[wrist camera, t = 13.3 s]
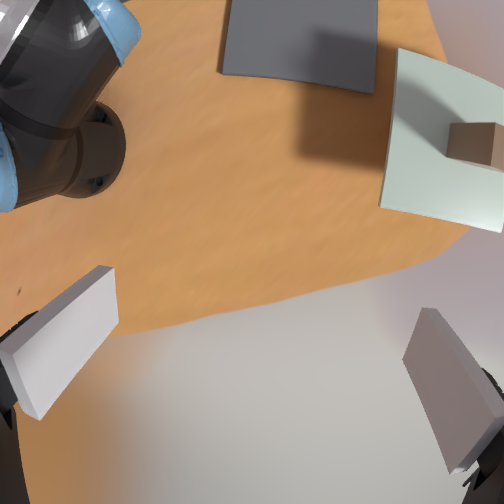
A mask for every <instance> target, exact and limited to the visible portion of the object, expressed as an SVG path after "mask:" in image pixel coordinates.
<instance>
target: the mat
mask: <svg viewBox="0 0 504 504" xmlns="http://www.w3.org/2000/svg"><path fill="white" fill-rule="evenodd" d="M377 27H378V0H232V6H231V12H230V19H229V26H228V33H227V40H226V47H225V55H224V63H223V71H222V74H223V75H232V76H249V77H261V78H272V79H282V80H290V81H298V82H305V83H312V84H319V85H325V86H331V87H337V88H342V89H347V90H352V91H357V92H362V93H367V94H371V95H372V94H374V85H375V71H376V54H377Z"/></svg>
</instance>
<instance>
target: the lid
mask: <svg viewBox="0 0 504 504" xmlns="http://www.w3.org/2000/svg"><path fill="white" fill-rule="evenodd" d="M378 206H379V207H382V208H387V209H393V210H398V211H403V212H409V213H414V214H419V215H424V216H429V217H433V218H438V219H443V220H447V221H452V222H456V223H461V224H465V225H470V226H474V227H478V228H483V229H487V230H491V231H495V232H499V233H501V230H502V227H503V223H504V89H503V88H501V87H499V86H496V85H495V84H492V83H490V82H488V81H486V80H484V79H482V78H480V77H477V76H475V75H473V74H471V73H468V72H466V71H464V70H461V69H459V68H456V67H453V66H451V65H449V64H446V63H443V62H441V61H438V60H435V59H432V58H429V57H427V56H424V55H421V54H418V53H414V52H411V51H408V50H405V49H401V48H397V49H396V65H395V80H394V93H393V104H392V114H391V123H390V132H389V140H388V147H387V154H386V161H385V168H384V174H383V180H382V186H381V192H380V198H379V203H378Z"/></svg>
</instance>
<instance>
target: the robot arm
mask: <svg viewBox="0 0 504 504" xmlns="http://www.w3.org/2000/svg"><path fill="white" fill-rule="evenodd" d="M140 36H141V27H140V24H139V22H138V21H137V19H136V18H135V17H134V15H133V14H132V13H131V12H130V11H129V10H128V9H127V8H126V7H125V6H124V5H123V4H122V3H121V2H120V1H119V0H0V213H1V212H10V211H11V210H13V209H16V208H18V207H21V206H24V205H27V204H29V203H32V202H35V201H38V200H41V199H44V198H47V197H50V196H53V195H56V194H58V195H62V196H66V197H71V198H87V197H90V196H93V195H96V194H99V193H101V192H103V191H104V190H105V189H107V188H108V187H109V186H110V185H111V184H112V183H113V182H114V180H115V179H116V177H117V176H118V174H119V172H120V170H121V168H122V165H123V161H124V157H125V150H126V140H125V133H124V129H123V126H122V124H121V121H120V120H119V118H118V116H117V115H116V114H115V112H114V111H113V110H112V109H111V108H109V107H108V106H106V105H104V104H102V103H99V102H95V101H96V99H97V98H98V96H99V95H100V93H101V92H102V90H103V89H104V87H105V86H106V85H107V83H108V82H109V80H110V79H111V78H112V76H113V75H114V74H115V72H116V71H117V70H118V68H119V67H122V66H123V64H124V60H125V58H126V57H127V56H128V54H129V53H130V52H131V50H132V49H133V48H134V46H135V45H136V44H137V42H138V41H139V39H140ZM118 323H119V320H118V311H117V301H116V289H115V276H114V268H113V267H107V266H102V265H99V266H97V267H96V268H94V269H93V270H92V271H90V272H89V273H88V274H86V275H85V276H84V277H82V278H81V279H80V280H78V281H77V282H76V283H74V284H73V285H72V286H70V287H69V288H68V289H66V290H65V291H64V292H63V293H61V294H60V295H59V296H57V297H56V298H55V299H54V300H52V301H51V302H50V303H48V304H47V305H46V306H45V307H43V308H42V309H41V310H40V311H36V312H34V313H31V314H29V315H27V316H25V317H24V318H23V319H22V320H20V321H19V322H18V324H16V325H14V326H13V327H12V328H11V330H8V331H7V332H6V333H5V334H3V335H2V336H1V337H0V504H30V502H29V498H28V493H27V489H26V484H25V479H24V474H23V468H22V462H21V455H20V448H19V440H18V432H17V421H16V412H15V409H14V407H13V405H14V404H15V403H16V402H17V401H18V402H19V404H20V406H21V407H22V410H23V411H24V412H25V413H26V414H28V415H30V416H32V417H34V418H36V419H38V420H41V419H42V417H43V416H44V415H45V413H46V412H47V411H48V410H49V408H50V406H52V404H53V403H54V402H55V400H56V399H57V398H58V396H59V395H60V394H61V393H62V391H63V390H64V389H65V388H66V386H67V385H68V384H69V383H70V381H71V380H72V379H73V377H74V376H75V375H76V374H77V372H78V371H79V370H80V369H81V368H82V366H83V365H84V364H85V363H86V361H87V360H88V359H89V357H90V356H91V355H92V354H93V353H94V352H95V350H96V349H97V348H98V347H99V346H100V344H101V343H102V342H103V341H104V340H105V338H106V337H107V336H108V335H109V334H110V332H111V331H112V330H113V329H114V328H115V327H116V325H117V324H118ZM402 360H403V362H404V364H405V367H406V368H407V371H408V373H409V375H410V378H411V380H412V382H413V384H414V386H415V389H416V391H417V393H418V395H419V397H420V400H421V403H422V405H423V407H424V409H425V412H426V415H427V417H428V419H429V422H430V424H431V427H432V429H433V432H434V434H435V437H436V439H437V442H438V445H439V447H440V450H441V452H442V455H443V458H444V460H445V463H446V466H447V468H448V472H449V474H455V473H459V472H464V471H467V470H468V469H469V468H470V467H471V465H472V464H473V463H474V462H475V461H476V460H477V462H478V464H479V468H477V470H476V471H475V472H474V473H473V474H472V475H471V476H470V477H469V478H468V479H467V480H466V481H465V482H464V484H463V485H462V486H463V487H465V486H466V485H467V484H468V483H469V482H471V483H470V485H469V487H468V490H467V493H466V495H465V498H464V500H463V502H462V504H504V393H502V390H501V388H500V387H499V386H498V384H497V382H496V381H495V379H494V378H493V377H492V375H490V374H489V373H488V372H487V371H486V370H484V369H483V368H481V367H480V366H479V364H478V363H477V361H476V360H475V359H474V357H473V356H472V355H471V353H470V352H469V351H468V349H467V348H466V346H465V345H464V344H463V342H462V341H461V340H460V338H459V337H458V336H457V335H456V333H455V332H454V331H453V329H452V328H451V327H450V325H449V324H448V323H447V322H446V320H445V319H444V318H443V317H442V315H441V314H440V313H439V311H438V310H437V309H432V308H422V309H421V312H420V315H419V318H418V321H417V323H416V326H415V329H414V331H413V334H412V337H411V340H410V342H409V344H408V347H407V349H406V352H405V354H404V357H403V359H402Z"/></svg>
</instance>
